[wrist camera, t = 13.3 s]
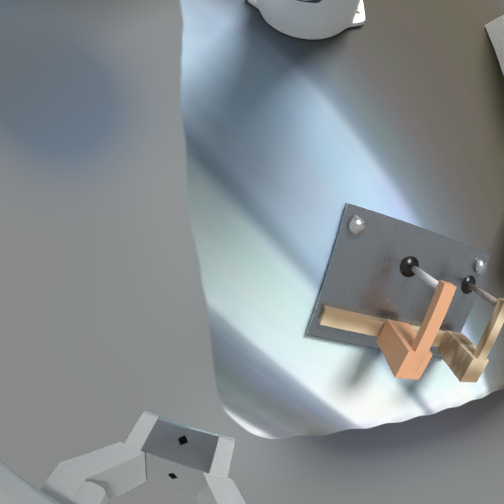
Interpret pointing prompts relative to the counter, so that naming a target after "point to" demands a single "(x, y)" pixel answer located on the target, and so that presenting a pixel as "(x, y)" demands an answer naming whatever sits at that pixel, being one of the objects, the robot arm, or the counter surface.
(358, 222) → the hole plate
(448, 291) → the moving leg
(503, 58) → the milk
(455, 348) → the fixed leg
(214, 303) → the counter surface
